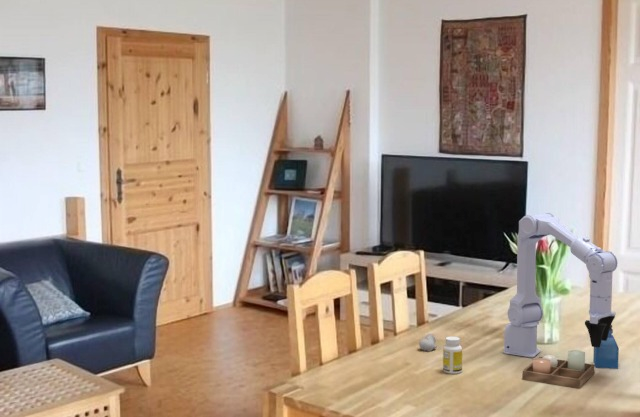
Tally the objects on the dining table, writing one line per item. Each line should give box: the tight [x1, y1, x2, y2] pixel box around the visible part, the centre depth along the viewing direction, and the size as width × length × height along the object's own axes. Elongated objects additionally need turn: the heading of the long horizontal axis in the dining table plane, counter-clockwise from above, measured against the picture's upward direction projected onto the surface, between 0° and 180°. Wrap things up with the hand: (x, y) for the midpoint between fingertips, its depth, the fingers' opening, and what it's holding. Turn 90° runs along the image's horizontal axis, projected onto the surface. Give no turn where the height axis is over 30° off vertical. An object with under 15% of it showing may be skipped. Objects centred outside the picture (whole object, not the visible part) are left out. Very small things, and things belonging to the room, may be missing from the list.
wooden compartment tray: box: [521, 356, 596, 389], centre depth 242 cm, size 16×16×2 cm
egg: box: [542, 354, 558, 367], centre depth 247 cm, size 5×5×5 cm
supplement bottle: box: [442, 336, 463, 375], centre depth 247 cm, size 5×5×10 cm
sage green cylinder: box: [567, 349, 586, 371], centre depth 243 cm, size 5×5×6 cm
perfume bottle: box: [592, 324, 620, 370], centre depth 251 cm, size 6×6×12 cm
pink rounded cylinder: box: [532, 357, 551, 374], centre depth 241 cm, size 5×5×5 cm
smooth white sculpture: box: [418, 333, 437, 352], centre depth 270 cm, size 4×8×5 cm
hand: (599, 343), depth 239 cm, fingers open, 7 cm apart
